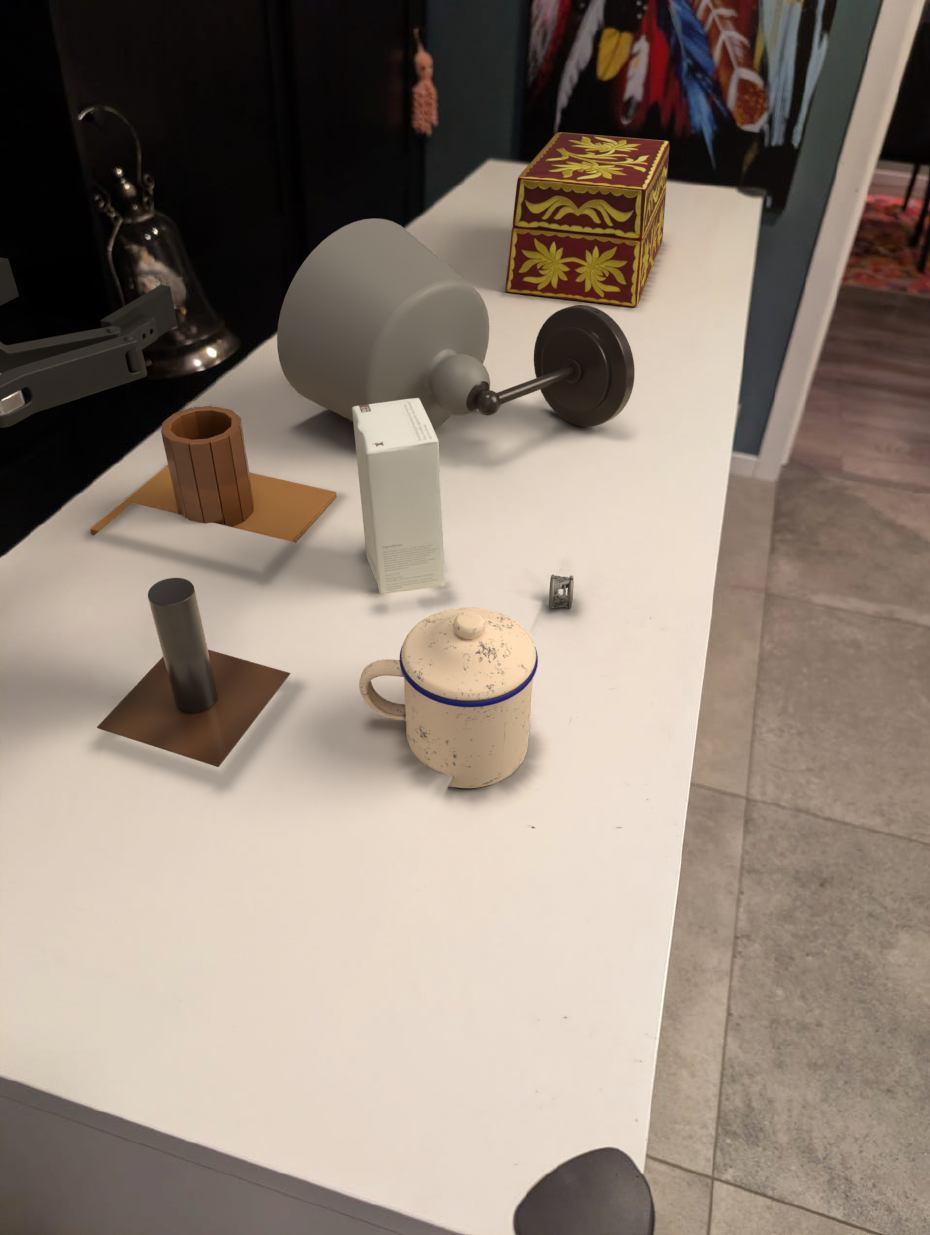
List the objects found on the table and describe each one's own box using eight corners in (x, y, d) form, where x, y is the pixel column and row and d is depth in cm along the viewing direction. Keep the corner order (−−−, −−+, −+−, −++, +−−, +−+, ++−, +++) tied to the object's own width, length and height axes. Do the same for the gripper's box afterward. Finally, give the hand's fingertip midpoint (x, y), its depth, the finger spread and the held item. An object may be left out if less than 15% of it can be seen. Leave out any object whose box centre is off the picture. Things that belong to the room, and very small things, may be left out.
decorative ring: (570, 616, 80) (573, 587, 78) (548, 614, 80) (550, 586, 78) (571, 595, 82) (574, 567, 80) (548, 593, 82) (551, 565, 80)
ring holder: (100, 742, 68) (58, 618, 61) (180, 654, 76) (151, 534, 68) (222, 781, 66) (193, 657, 58) (293, 687, 73) (275, 565, 65)
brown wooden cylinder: (165, 521, 89) (145, 434, 83) (206, 484, 94) (190, 400, 88) (229, 537, 87) (213, 449, 81) (267, 499, 92) (254, 414, 86)
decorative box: (546, 230, 154) (552, 128, 144) (662, 242, 150) (677, 138, 141) (504, 292, 134) (508, 178, 124) (637, 308, 130) (652, 191, 120)
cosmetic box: (446, 598, 81) (445, 443, 72) (376, 609, 80) (366, 452, 71) (426, 542, 87) (423, 393, 78) (361, 551, 86) (349, 400, 77)
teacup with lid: (534, 704, 72) (543, 580, 64) (527, 799, 65) (537, 673, 57) (375, 691, 72) (366, 568, 65) (352, 784, 66) (339, 658, 58)
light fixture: (276, 233, 89) (477, 360, 77) (467, 197, 104) (661, 298, 92) (271, 422, 103) (441, 555, 91) (441, 366, 118) (607, 474, 106)
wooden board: (91, 534, 88) (89, 528, 88) (178, 461, 98) (177, 456, 98) (263, 578, 83) (262, 572, 83) (336, 496, 93) (336, 491, 93)
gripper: (-293, 444, 58) (-36, 315, 73) (42, 532, 51) (248, 369, 67) (-360, 325, 53) (-70, 213, 69) (0, 404, 47) (232, 261, 62)
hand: (87, 290), depth 68 cm, fingers open, 13 cm apart
